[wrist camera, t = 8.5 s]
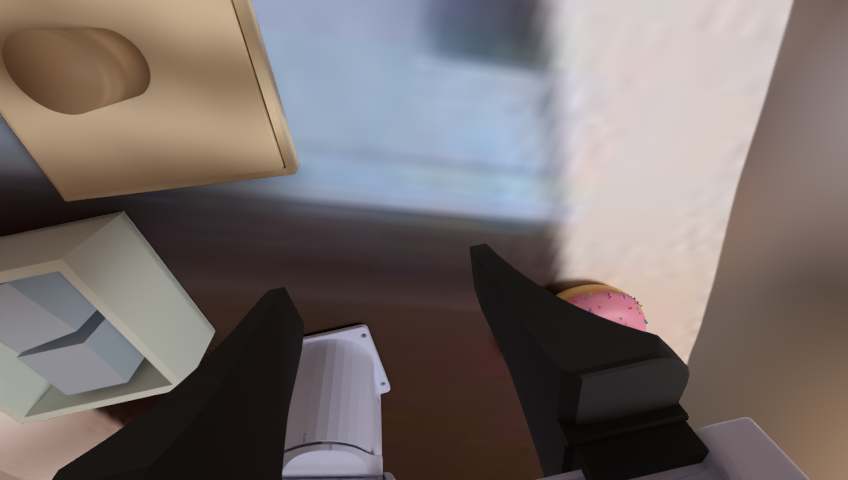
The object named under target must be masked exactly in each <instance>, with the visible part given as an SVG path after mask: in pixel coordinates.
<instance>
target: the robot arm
mask: <svg viewBox="0 0 848 480" xmlns="http://www.w3.org/2000/svg"><path fill="white" fill-rule="evenodd" d="M470 253H471V262H472V271H473V281H474V288H475V291H476V294H477V297H478V300H479V303H480V306H481V309H482V311H483V313H484V316H485V318H486V320H487V322H488V324H489V326H490V328H491V331H492V333H493V335H494V337H495V339H496V341H497V343H498V345H499V348H500V350H501V352H502V354H503V356H504V359H505V361H506V363H507V366H508V368H509V371H510V374H511V377H512V380H513V382H514V385H515V388H516V391H517V394H518V397H519V400H520V403H521V406H522V409H523V412H524V414H525V417H526V420H527V424H528V427H529V430H530V433H531V436H532V439H533V442H534V445H535V448H536V451H537V454H538V458H539V461H540V464H541V467H542V470H543V474H544V477H545V478H541V479H537V480H810V479H809V478H808V477H807V476H806V475H805V474H804V473H803V472H802V471H801V470H800V469H799V468H798V467H797V466H796V465H795V464H794V463H793V462H792V461H791V460H790V459H789V458H788V457H787V455H786V454H785V453H784V452H783V451H782V450H781V449H780V448H779V447H778V446H777V445H776V444H775V443H774V442H773V441H772V440H771V439H770V438H769V437H768V436H767V435H766V434H765V433H764V432H763V430H762V429H760V427H759V426H758V425H757V424H756V423H755V422H754V421H753V420H752V419H751V418H748V417H743V418H739V419H734V420H730V421H726V422H721V423H717V424H712V425H709V426H706V427H703V428H701V429H700V430H698V431H697V432H696V433H695V432H694V431H693V430H692V428H691V427H690V426H689V425H688V423H687V422H686V420H688V418H689V417H688V414H687V413H686V412H685V410H684V409H683V408H682V407H681V405H680V404H679V403H678V402H679V400H680V398H681V396H682V394H683V391H684V389H685V387H686V385H687V382H688V378H689V369H688V366H687V365H686V364H685V363H684V362H683V361H682V360H681V359H680V358H679V357H678V355H677V354H676V353H675V352H674V351H673V350H672V349H671V348H670V347H669V346H668V345H667V344H666V343H665V342H664V341H663V340H662V339H661V338H660V337H659V336H658V335H654V334H651V333H648V332H645V331H641V330H638V329H635V328H632V327H628V326H625V325H622V324H619V323H616V322H614V321H611V320H608V319H606V318H603V317H600V316H598V315H596V314H593V313H591V312H588V311H586V310H584V309H582V308H580V307H578V306H575V305H573V304H571V303H569V302H567V301H565V300H563V299H561V298H559V297H558V296H556V295H554V294H552V293H551V292H549V291H547V290H545V289H544V288H542V287H541V286H539V285H538V284H536V283H535V282H533V281H532V280H530V279H529V278H527V277H526V276H525V275H523V274H522V273H521V272H519V271H518V270H517V269H515V268H514V267H513V266H512V265H510V264H509V263H508V262H507V261H505V260H504V259H503V258H502V257H501V256H500V255H498V254H497V253H496V252H495V251H494V250H493V249H492V248H491V247H489V246H488V245H487V244H480V245H476V246H471V247H470ZM303 334H304V323H303V321H302V319H301V317H300V315H299V313H298V311H297V310H296V308H295V306H294V304H293V302H292V300H291V298H290V296H289V295H288V293H287V291H286V289H285V287H281V288H277V289H272V290H268V291H267V292H266V293H265V294H264V296H263V297H262V298H261V299H260V300H259V301H258V302H257V303H256V305H255V306H254V307H253V308H252V309H251V310H250V311H249V313H248V314H247V315H246V316H245V317H244V318H243V320H242V321H241V322H240V323H239V324H238V325H237V326H236V328H235V329H234V330H233V331H232V332H231V333H230V334H229V335H228V336H227V337H226V338H225V340H224V341H223V342H222V343H221V344H220V345H219V346H218V347H217V348H216V349H215V350H214V351H213V352H212V353H211V354H210V355H209V356H208V357H207V358H206V359H205V360H204V361H203V362H202V363H201V364H200V365H199V366H198V367H197V368H196V369H195V370H194V371H193V372H192V373H190V374H189V375H188V376H187V377H186V378H185V379H184V380H183V381H182V382H180V383H179V384H178V385H177V386H176V387H174V388H173V389H172V390H171V391H170V392H168V393H167V394H166V395H165V396H163V397H162V398H161V399H160V400H159V401H157V402H156V403H155V404H154V405H152V406H151V407H150V408H149V409H147V410H146V411H145V412H143V413H142V414H141V415H139V416H138V417H137V418H135V419H134V420H133V421H131V422H130V423H129V424H127V425H126V426H124V427H123V428H122V429H120V430H119V431H117V432H116V433H115V434H113V435H112V436H110V437H109V438H107V439H106V440H104V441H103V442H101V443H100V444H98V445H97V446H95V447H94V448H92V449H91V450H89V451H88V452H86V453H84V454H83V455H81V456H80V457H78V458H77V459H75V460H74V461H72V462H71V463H69V464H67V465H66V466H64V467H63V468H61V469H59V470H58V472H57V473H56V475H55V476H54V477H53V479H52V480H395V478H394V476H393V475H392V474H391V473H389V472H385V473H383V465H382V435H381V397H380V394H381V393H386V392H388V391H389V390H390V384H389V382H388V379H387V377H386V374H385V371H384V369H383V366H382V363H381V361H380V358H379V356H378V353H377V350H376V348H375V345H374V343H373V340H372V337H371V335H370V332H369V330H368V327H367V326H366V325H363V324H362V325H356V326H352V327H347V328H343V329H338V330H334V331H329V332H324V333H320V334H315V335H311V336H306V337H303Z"/></svg>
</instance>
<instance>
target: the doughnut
mask: <svg viewBox="0 0 848 480" xmlns="http://www.w3.org/2000/svg"><path fill="white" fill-rule="evenodd" d="M556 296H558V297H559V298H561V299H563V300H565V301H567V302H569V303H571V304H573V305H575V306H578V307H580V308H582V309H584V310H586V311H588V312H591V313H593V314H596V315H598V316H600V317H603V318H606V319H608V320H611V321H614V322H616V323H619V324H622V325H625V326H628V327H632V328H635V329H638V330H641V331H645V332H646V324H647V323H648V322H646V320H645V317H644V314H643V312H642V309H641V307H642V306H643V305H640V304H639V302H637V301H636V300H635V298H632V296H629V295H628V294H626V293H624V292H623V291H621V290H619V289H617V288H614V287H611V286H607V285H599V284H590V285H582V286H577V287H573V288H570V289H567V290H565V291H562V292H560V293H558V294H556Z"/></svg>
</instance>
